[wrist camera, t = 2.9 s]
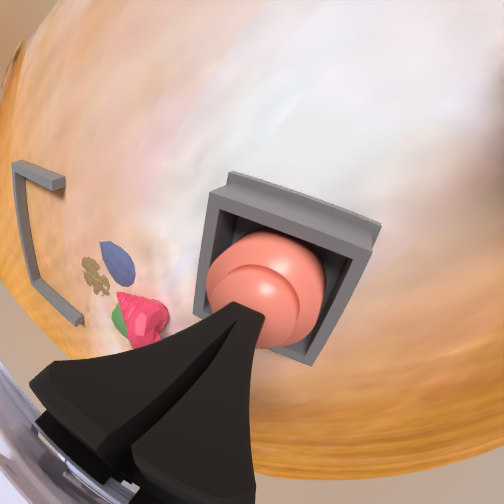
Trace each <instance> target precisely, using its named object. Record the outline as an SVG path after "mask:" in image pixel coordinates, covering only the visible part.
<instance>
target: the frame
mask: <svg viewBox="0 0 504 504" xmlns="http://www.w3.org/2000/svg"><path fill="white" fill-rule="evenodd" d="M12 176H13V189H14V199H15V208H16V215H17V222H18V228H19V234H20V239H21V244H22V249H23V253H24V258H25V262H26V266H27V270H28V274H29V277H30V281H31V285H32V286H33V287H34V288H35V289H36V290H37V291H38V292H39V293H40V294H41V295H42V296H43V297H44V298H45V299H46V300H47V301H48V302H49V303H50V304H51V305H52V306H53V307H54V308H56V309H57V310H58V311H59V312H60V313H61V314H62V315H63V316H64V317H65V318H66V319H68V320H69V321H70V322H71V323H72V324H73V325H74V326H76V327H77V326H78V325H79V324H81V323H82V322H83V321H84V317H83V315H82V314H81V313H80V312H79V311H77V310H76V309H75V308H74V307H73V306H71V305H70V304H69V303H68V302H67V301H66V300H64V299H63V298H62V297H61V296H60V295H59V294H58V293H56V292H55V291H54V290H53V289H52V288H51V287H50V286H49V285H48V284H47V283H46V282H44V281H43V280H42V279H41V278H40V274H39V270H38V266H37V262H36V257H35V252H34V247H33V242H32V236H31V230H30V224H29V217H28V209H27V199H26V188H25V178H27V179H29V180H31V181H33V182H35V183H37V184H39V185H41V186H43V187H45V188H47V189H49V190H51V191H55V190H58V189H60V188H63V187H65V176H62V175H60V174H57V173H55V172H52V171H49V170H47V169H44V168H42V167H39V166H37V165H34V164H31V163H29V162H26V161H24V160H19V161H16V162H12Z"/></svg>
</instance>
